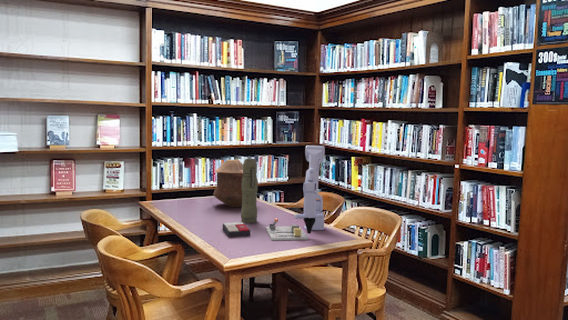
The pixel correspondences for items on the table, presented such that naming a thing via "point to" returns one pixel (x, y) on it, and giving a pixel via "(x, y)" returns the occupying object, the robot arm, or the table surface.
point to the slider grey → (293, 227)
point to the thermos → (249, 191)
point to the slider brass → (297, 231)
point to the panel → (284, 233)
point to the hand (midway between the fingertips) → (308, 233)
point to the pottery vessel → (229, 183)
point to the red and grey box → (236, 229)
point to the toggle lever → (275, 222)
